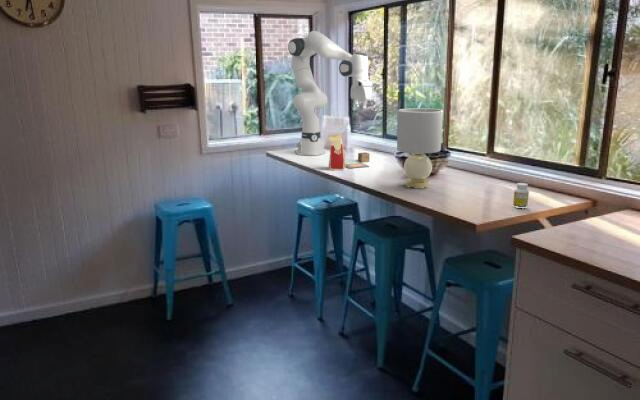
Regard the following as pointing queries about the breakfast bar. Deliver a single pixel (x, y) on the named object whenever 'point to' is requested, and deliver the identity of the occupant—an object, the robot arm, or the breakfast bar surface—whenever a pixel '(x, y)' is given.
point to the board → (355, 165)
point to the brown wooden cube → (363, 157)
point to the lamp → (419, 142)
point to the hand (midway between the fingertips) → (360, 107)
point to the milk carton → (336, 153)
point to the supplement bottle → (521, 195)
